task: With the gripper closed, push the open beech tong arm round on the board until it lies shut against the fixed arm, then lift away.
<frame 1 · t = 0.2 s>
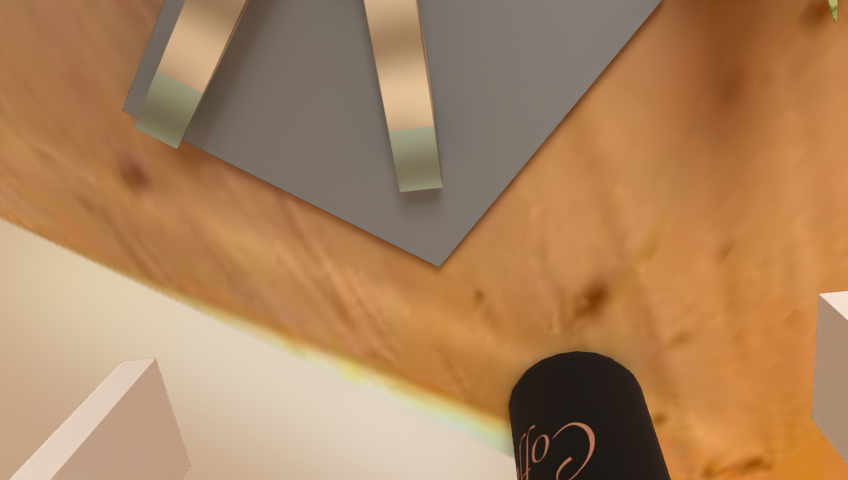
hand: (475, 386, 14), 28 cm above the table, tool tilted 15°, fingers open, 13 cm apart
tong arm: (401, 58, 36), point 3 cm above the table, hinge at 40.0°
coffee jar: (571, 388, 56), on the table
board: (381, 45, 38), on the table
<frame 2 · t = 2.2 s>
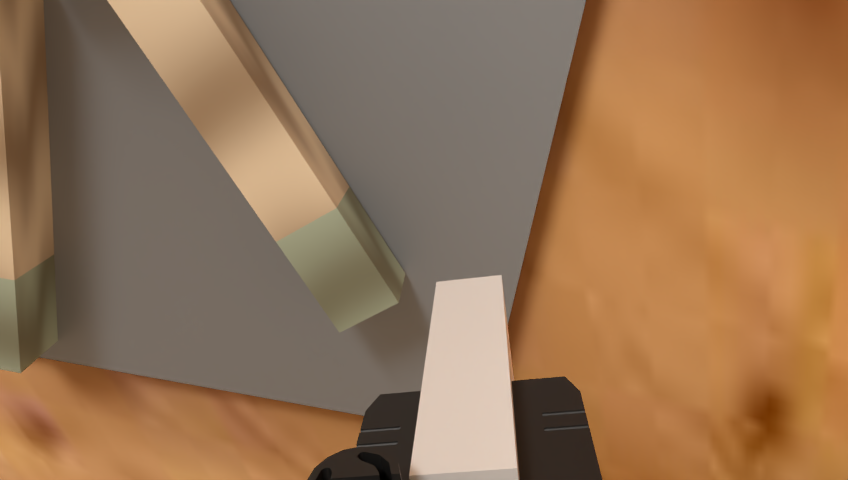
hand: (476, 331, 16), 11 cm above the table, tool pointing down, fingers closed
tong arm: (257, 128, 23), point 3 cm above the table, hinge at 40.0°
board: (252, 133, 26), on the table
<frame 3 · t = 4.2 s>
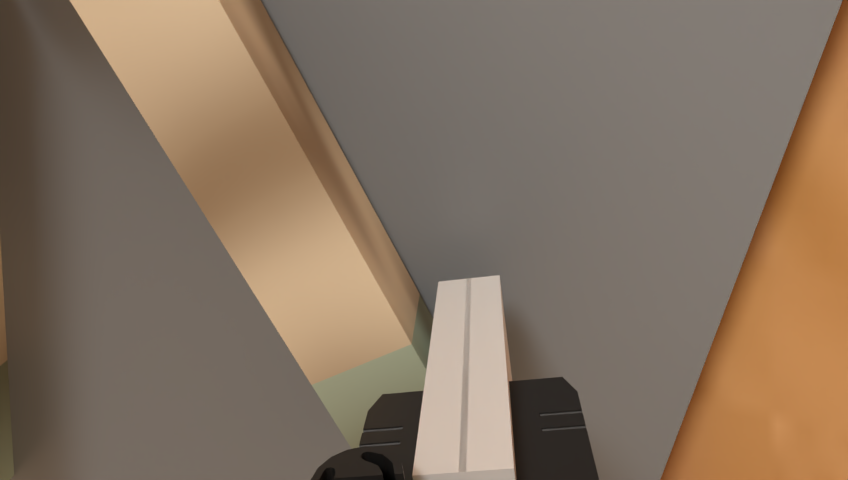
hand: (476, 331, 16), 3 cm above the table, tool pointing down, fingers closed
tong arm: (294, 209, 15), point 3 cm above the table, hinge at 36.4°, touching gripper
board: (300, 190, 17), on the table
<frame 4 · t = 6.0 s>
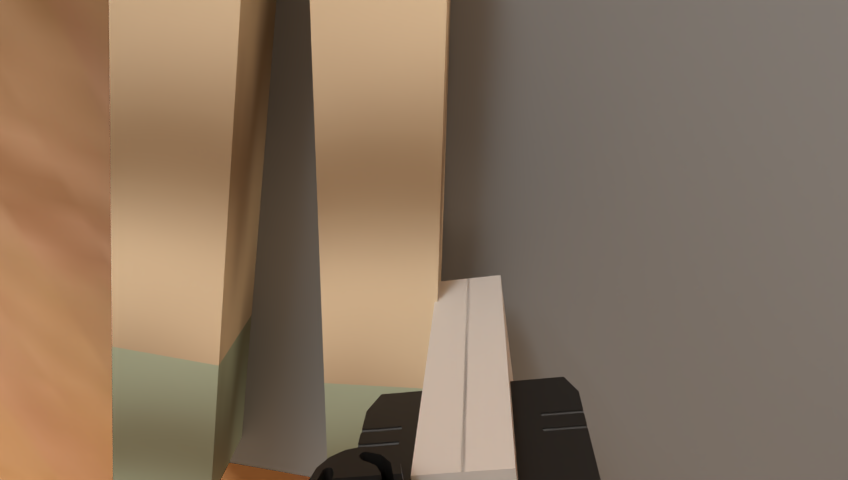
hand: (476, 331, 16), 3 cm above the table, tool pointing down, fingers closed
tong arm: (385, 221, 15), point 3 cm above the table, hinge at 8.2°, touching gripper
board: (569, 132, 17), on the table
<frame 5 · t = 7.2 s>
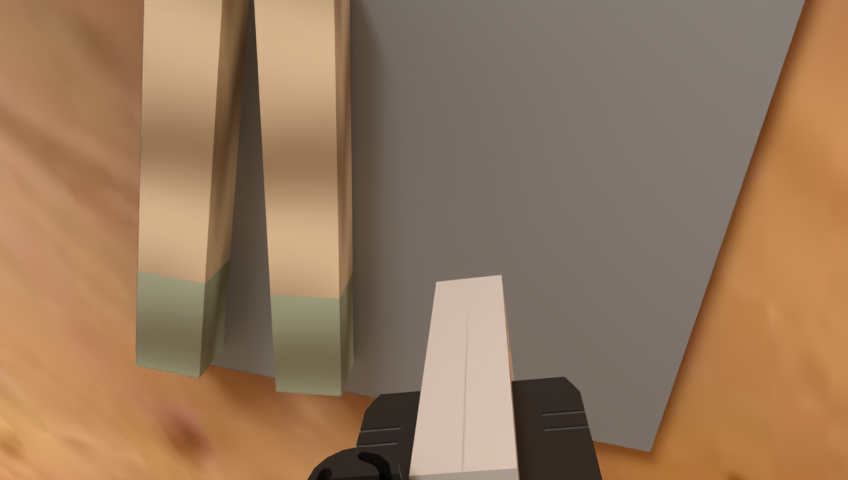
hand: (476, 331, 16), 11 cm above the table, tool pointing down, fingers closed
tong arm: (310, 192, 24), point 3 cm above the table, hinge at 8.1°
board: (437, 139, 26), on the table
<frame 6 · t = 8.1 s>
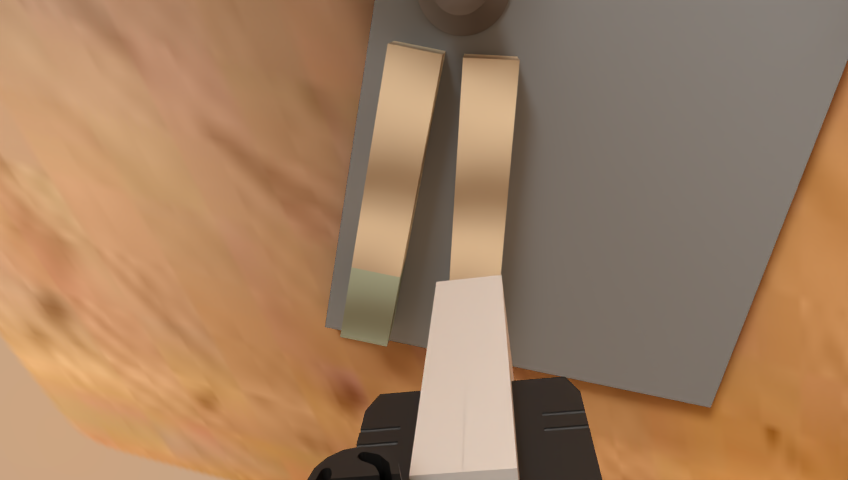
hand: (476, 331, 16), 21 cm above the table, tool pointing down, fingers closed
tong arm: (479, 213, 33), point 3 cm above the table, hinge at 8.1°
board: (564, 174, 35), on the table
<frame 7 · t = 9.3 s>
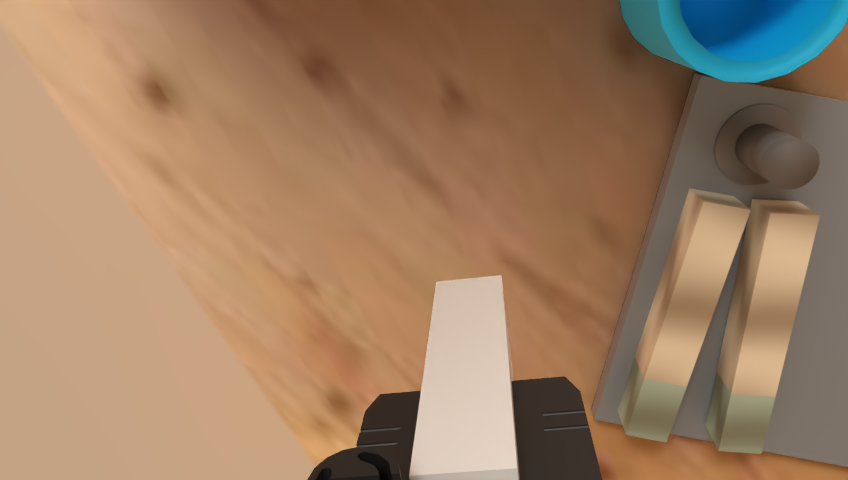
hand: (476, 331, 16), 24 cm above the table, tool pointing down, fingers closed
tong arm: (756, 331, 39), point 3 cm above the table, hinge at 8.1°
tongs base: (748, 140, 38), resting on board
board: (818, 290, 40), on the table
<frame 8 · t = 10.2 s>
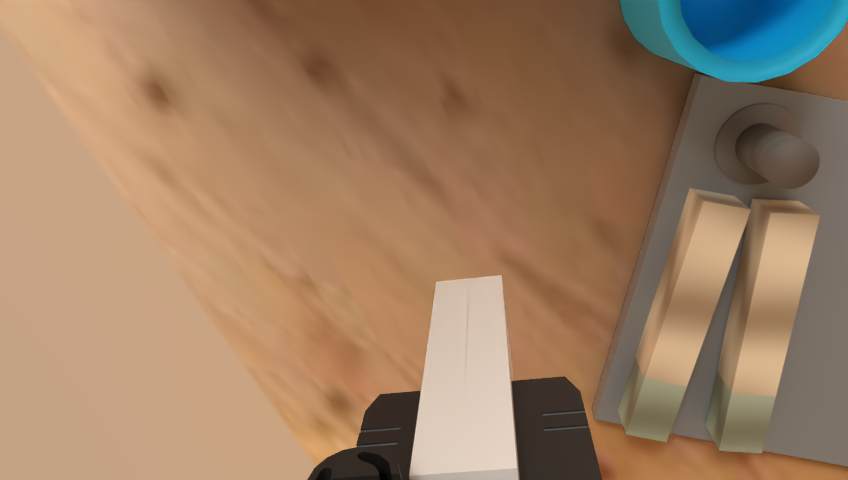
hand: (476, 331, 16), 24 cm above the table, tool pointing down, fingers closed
tong arm: (757, 330, 39), point 3 cm above the table, hinge at 8.1°
tongs base: (748, 139, 38), resting on board
board: (819, 290, 40), on the table
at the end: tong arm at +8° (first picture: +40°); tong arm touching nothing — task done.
